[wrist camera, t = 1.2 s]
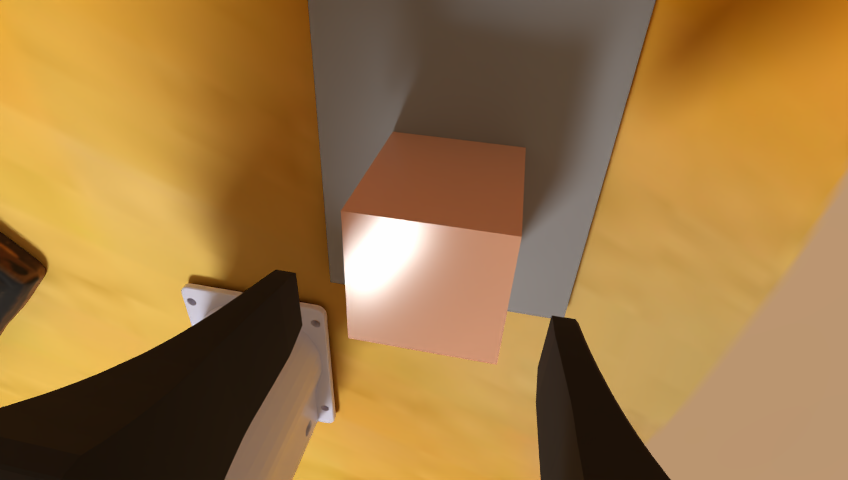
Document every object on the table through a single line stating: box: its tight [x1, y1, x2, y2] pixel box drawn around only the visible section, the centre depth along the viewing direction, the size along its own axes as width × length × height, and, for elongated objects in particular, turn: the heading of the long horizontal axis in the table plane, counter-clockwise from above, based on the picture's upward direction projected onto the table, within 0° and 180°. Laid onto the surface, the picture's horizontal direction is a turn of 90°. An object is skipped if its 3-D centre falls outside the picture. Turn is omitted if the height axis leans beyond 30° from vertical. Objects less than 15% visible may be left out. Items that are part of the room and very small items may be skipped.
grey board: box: [308, 0, 656, 318], centre depth 17 cm, size 22×11×1 cm, turn 178°
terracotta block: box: [341, 132, 526, 365], centre depth 17 cm, size 5×5×6 cm
